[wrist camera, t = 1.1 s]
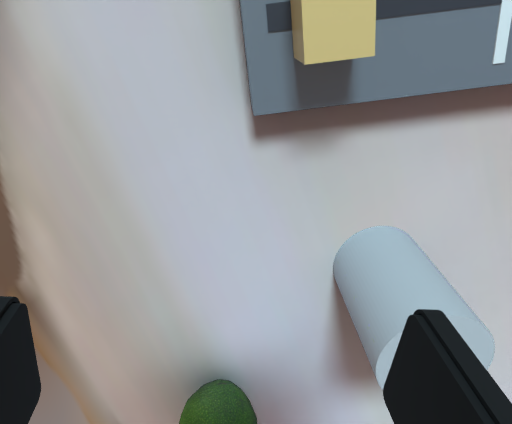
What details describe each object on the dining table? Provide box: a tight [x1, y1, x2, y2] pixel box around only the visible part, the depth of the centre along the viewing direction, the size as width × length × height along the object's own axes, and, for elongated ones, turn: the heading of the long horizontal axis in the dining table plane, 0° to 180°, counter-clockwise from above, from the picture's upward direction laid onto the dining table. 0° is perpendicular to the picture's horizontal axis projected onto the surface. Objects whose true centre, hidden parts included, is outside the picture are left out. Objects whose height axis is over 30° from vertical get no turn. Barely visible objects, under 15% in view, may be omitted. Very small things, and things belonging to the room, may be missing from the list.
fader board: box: [239, 0, 512, 116], centre depth 27 cm, size 22×12×3 cm, turn 96°
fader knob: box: [290, 0, 376, 65], centre depth 23 cm, size 4×5×4 cm
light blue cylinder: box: [333, 226, 495, 390], centre depth 33 cm, size 8×8×12 cm
